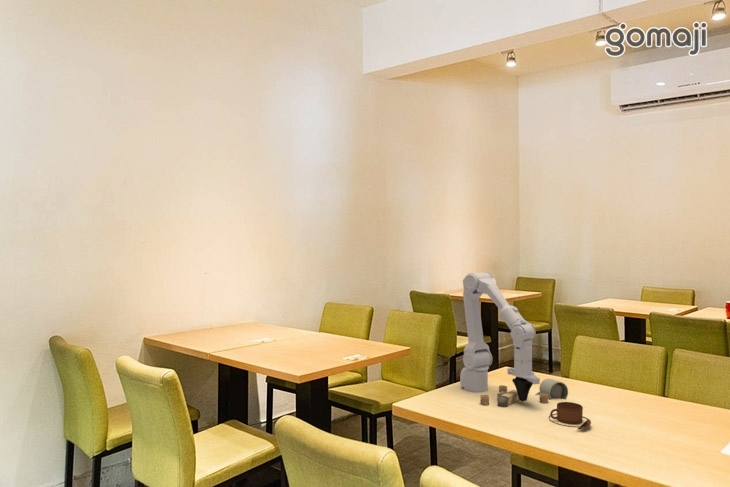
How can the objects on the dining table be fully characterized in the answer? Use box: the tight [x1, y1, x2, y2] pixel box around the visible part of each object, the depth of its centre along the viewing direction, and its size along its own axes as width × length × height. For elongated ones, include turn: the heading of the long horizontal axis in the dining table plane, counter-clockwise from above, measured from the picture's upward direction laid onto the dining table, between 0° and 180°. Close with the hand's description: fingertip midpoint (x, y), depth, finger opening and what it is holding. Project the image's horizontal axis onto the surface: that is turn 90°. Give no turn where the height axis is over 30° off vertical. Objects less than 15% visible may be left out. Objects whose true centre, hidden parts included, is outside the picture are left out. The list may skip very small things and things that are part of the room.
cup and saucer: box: [548, 401, 592, 430], centre depth 164 cm, size 12×12×6 cm
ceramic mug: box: [534, 378, 569, 400], centre depth 189 cm, size 10×8×7 cm
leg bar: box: [497, 389, 520, 408], centre depth 182 cm, size 13×3×3 cm, turn 140°
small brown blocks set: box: [479, 384, 549, 407], centre depth 181 cm, size 18×18×4 cm
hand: (522, 400), depth 181 cm, fingers closed
